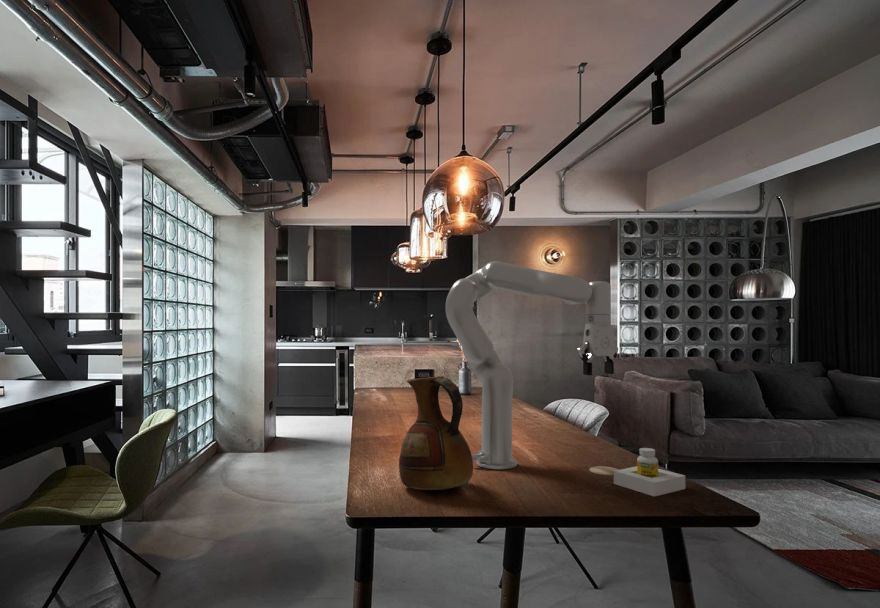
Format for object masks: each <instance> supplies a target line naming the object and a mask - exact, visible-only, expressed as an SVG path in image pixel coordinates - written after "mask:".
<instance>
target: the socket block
mask: <svg viewBox="0 0 880 608" xmlns="http://www.w3.org/2000/svg"><path fill="white" fill-rule="evenodd" d="M613 484H614V485H617V486H620V487H623V488H625V489H630V490H633V491H636V492H640V493H642V494H645V495H648V496H650V497H651V496H652V497H658V496H662V495H666V494H670V493H675V492H678V491H682V490H686V475H684V474H680V473H676V472H674V471H669V470H666V469H661V468H658V477H655V478H649V477H646V476H642V475H639V474H637V465H636V466H631V467H627V468H621V469H619V470H616V471H614V475H613Z"/></svg>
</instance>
